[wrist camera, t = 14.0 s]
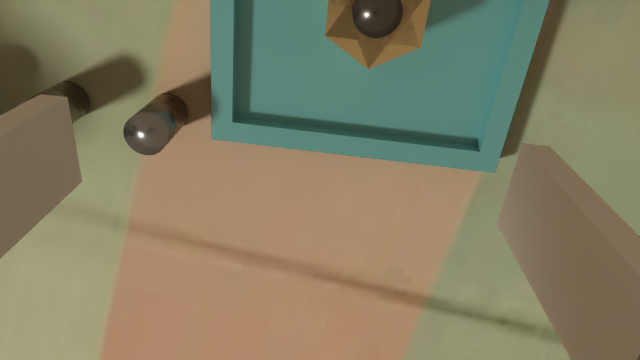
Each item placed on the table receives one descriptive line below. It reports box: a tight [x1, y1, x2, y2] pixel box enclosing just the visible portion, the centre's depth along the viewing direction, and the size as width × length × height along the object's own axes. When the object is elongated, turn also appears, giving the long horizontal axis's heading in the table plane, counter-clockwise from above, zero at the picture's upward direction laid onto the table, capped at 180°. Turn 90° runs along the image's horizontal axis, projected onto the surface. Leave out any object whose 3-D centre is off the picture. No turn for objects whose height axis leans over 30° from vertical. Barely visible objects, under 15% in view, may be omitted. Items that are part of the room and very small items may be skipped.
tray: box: [210, 0, 550, 173], centre depth 31 cm, size 22×22×2 cm
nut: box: [325, 0, 431, 69], centre depth 30 cm, size 6×7×5 cm
